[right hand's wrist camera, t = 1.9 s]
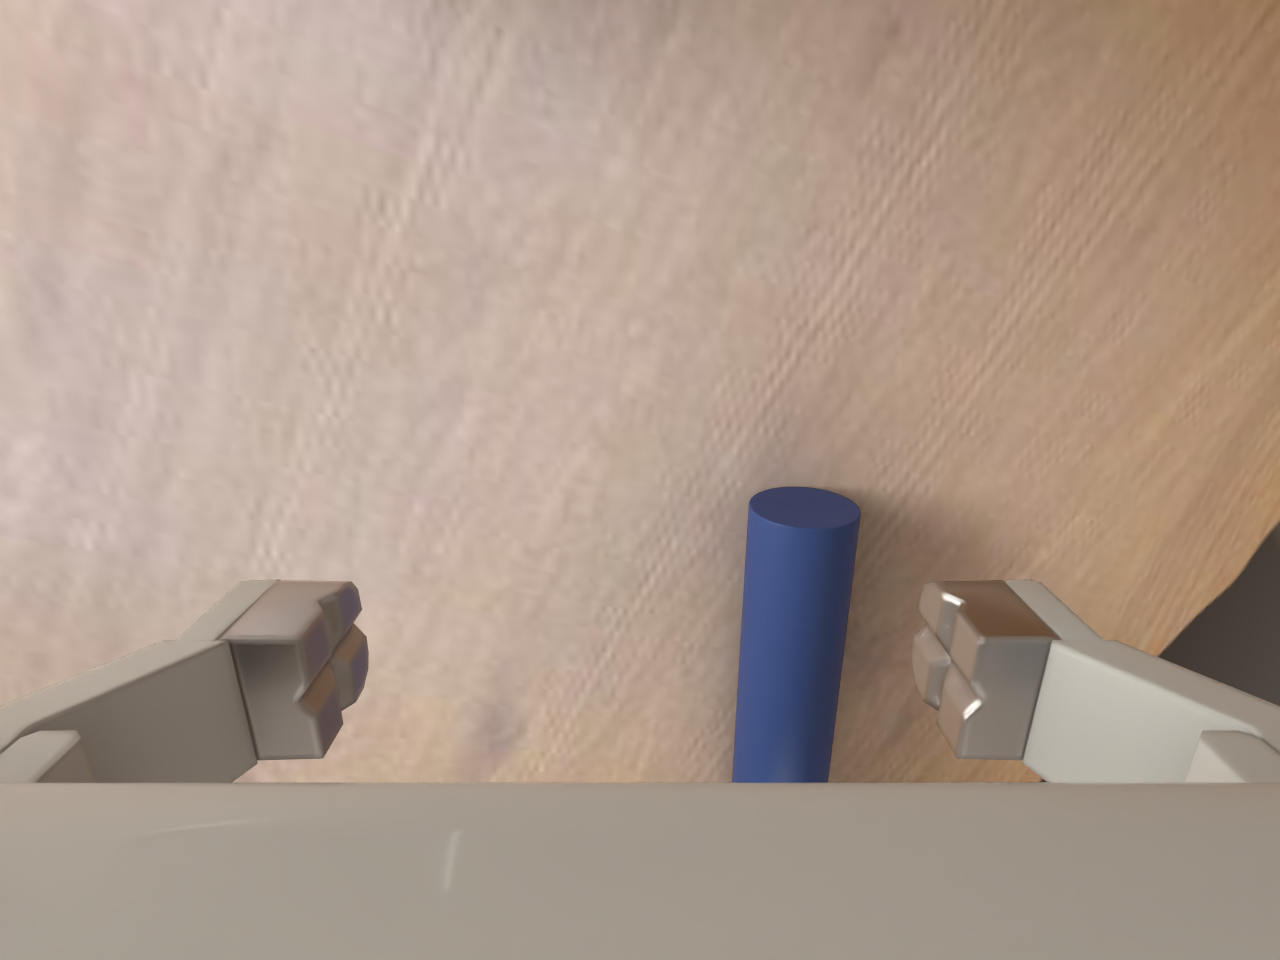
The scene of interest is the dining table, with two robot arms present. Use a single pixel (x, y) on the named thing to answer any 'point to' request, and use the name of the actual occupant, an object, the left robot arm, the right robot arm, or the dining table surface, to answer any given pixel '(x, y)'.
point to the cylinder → (793, 633)
